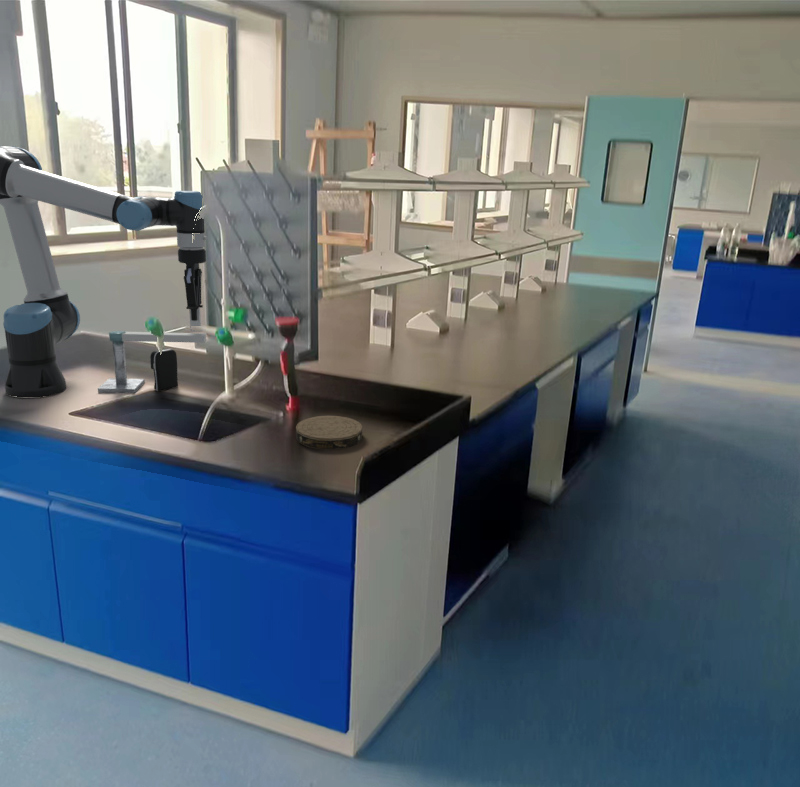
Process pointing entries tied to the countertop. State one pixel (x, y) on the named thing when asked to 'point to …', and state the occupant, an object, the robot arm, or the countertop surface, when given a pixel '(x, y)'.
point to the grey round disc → (329, 432)
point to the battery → (164, 369)
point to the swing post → (120, 374)
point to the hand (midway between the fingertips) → (195, 330)
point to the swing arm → (149, 337)
